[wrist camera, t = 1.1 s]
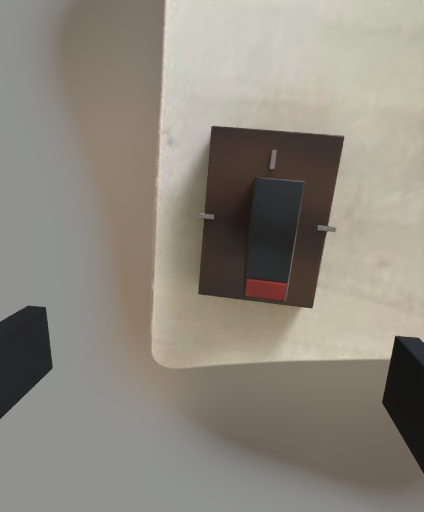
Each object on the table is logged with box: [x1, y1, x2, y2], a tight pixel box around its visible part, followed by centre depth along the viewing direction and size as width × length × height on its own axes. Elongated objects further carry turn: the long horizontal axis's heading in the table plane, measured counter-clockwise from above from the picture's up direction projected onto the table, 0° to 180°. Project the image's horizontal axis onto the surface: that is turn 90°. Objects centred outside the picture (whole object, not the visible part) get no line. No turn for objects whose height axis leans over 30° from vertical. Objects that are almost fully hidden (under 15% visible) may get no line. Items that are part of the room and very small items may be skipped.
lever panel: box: [197, 126, 344, 308], centre depth 26 cm, size 14×11×3 cm
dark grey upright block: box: [242, 177, 305, 302], centre depth 21 cm, size 7×3×8 cm, turn 175°
